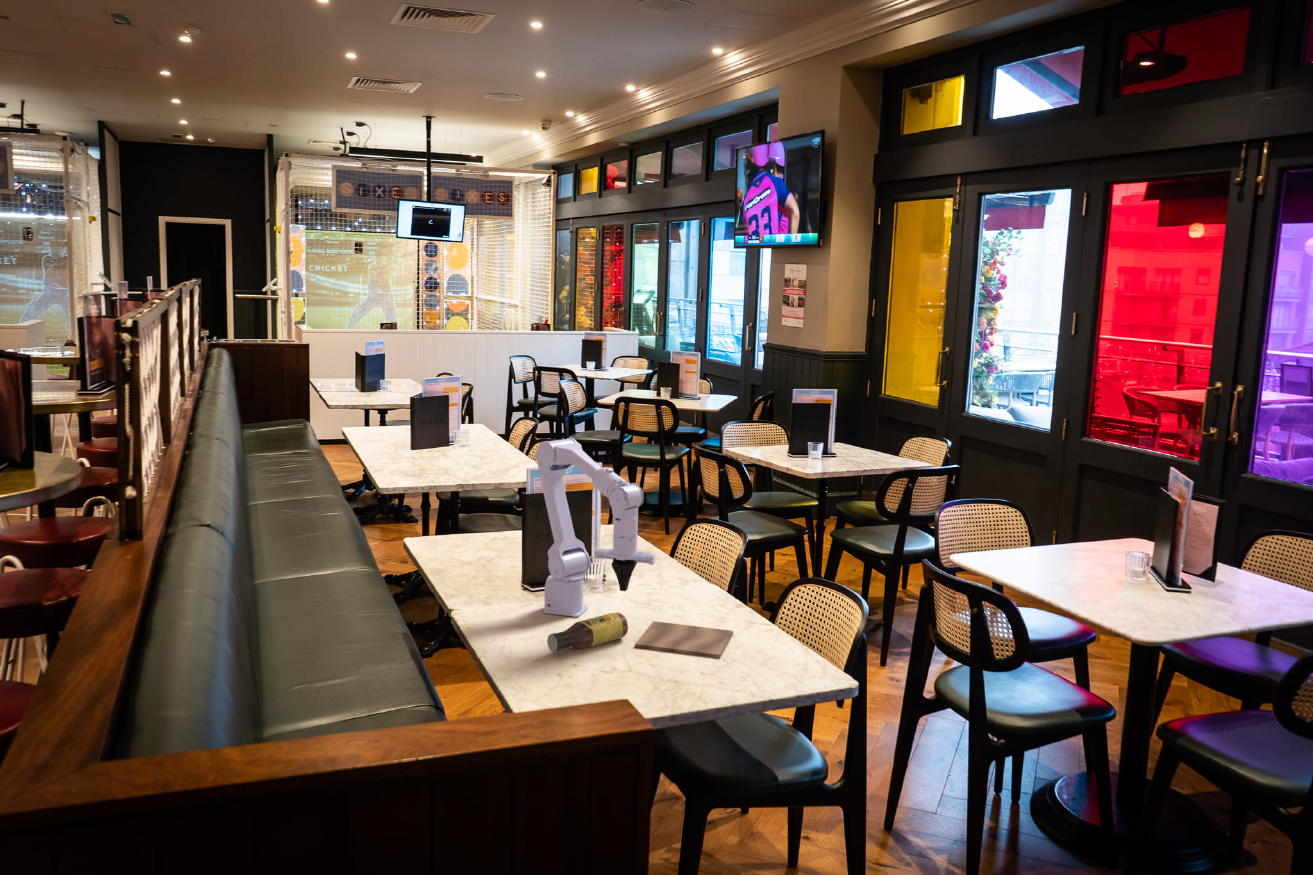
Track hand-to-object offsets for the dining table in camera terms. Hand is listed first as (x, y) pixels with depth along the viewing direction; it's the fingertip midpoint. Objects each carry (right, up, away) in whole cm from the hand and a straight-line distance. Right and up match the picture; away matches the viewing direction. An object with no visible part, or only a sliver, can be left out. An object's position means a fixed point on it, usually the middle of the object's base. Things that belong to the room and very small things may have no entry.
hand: (623, 589), depth 225 cm
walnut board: (+15, -11, -4) cm, 19 cm away
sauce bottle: (-1, -8, -2) cm, 8 cm away
